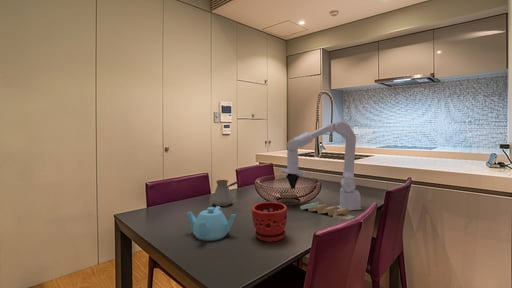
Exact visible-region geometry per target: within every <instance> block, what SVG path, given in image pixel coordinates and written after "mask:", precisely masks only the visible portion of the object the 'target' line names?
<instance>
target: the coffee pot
mask: <svg viewBox="0 0 512 288" xmlns="http://www.w3.org/2000/svg"><path fill="white" fill-rule="evenodd" d="M215 182H216V185H217V186H216V188H215V191H214V194H213V196H212V198H211V202H212V203H213V204H214V205H215V207H216V206H219V207H220V206H224V207H228V206H230V205H231V204H232V203H233V201H234V197H233V194H232V192H231V191H230V188H229V187H232V186H235V185H237V186H239V185H241V182H240V181H239V180H236V181H235V182H232V183H230V184H228V182H229V180H228V179H218V180H215ZM238 183H239V184H238Z"/></svg>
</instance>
